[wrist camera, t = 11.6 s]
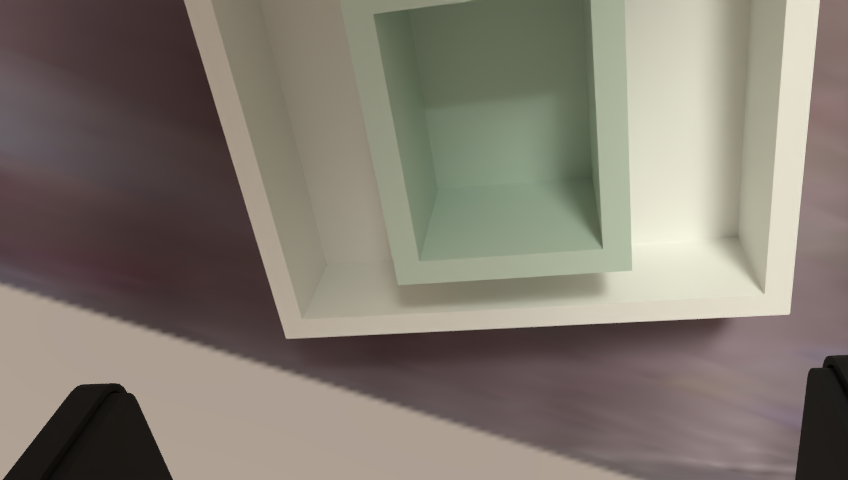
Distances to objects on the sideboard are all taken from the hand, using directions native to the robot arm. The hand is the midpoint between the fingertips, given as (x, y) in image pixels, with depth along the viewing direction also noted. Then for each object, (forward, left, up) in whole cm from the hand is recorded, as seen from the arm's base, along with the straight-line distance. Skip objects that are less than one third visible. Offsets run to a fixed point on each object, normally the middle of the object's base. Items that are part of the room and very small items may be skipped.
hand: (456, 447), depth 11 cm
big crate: (0, 0, -18) cm, 18 cm away
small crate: (0, 0, -17) cm, 17 cm away
